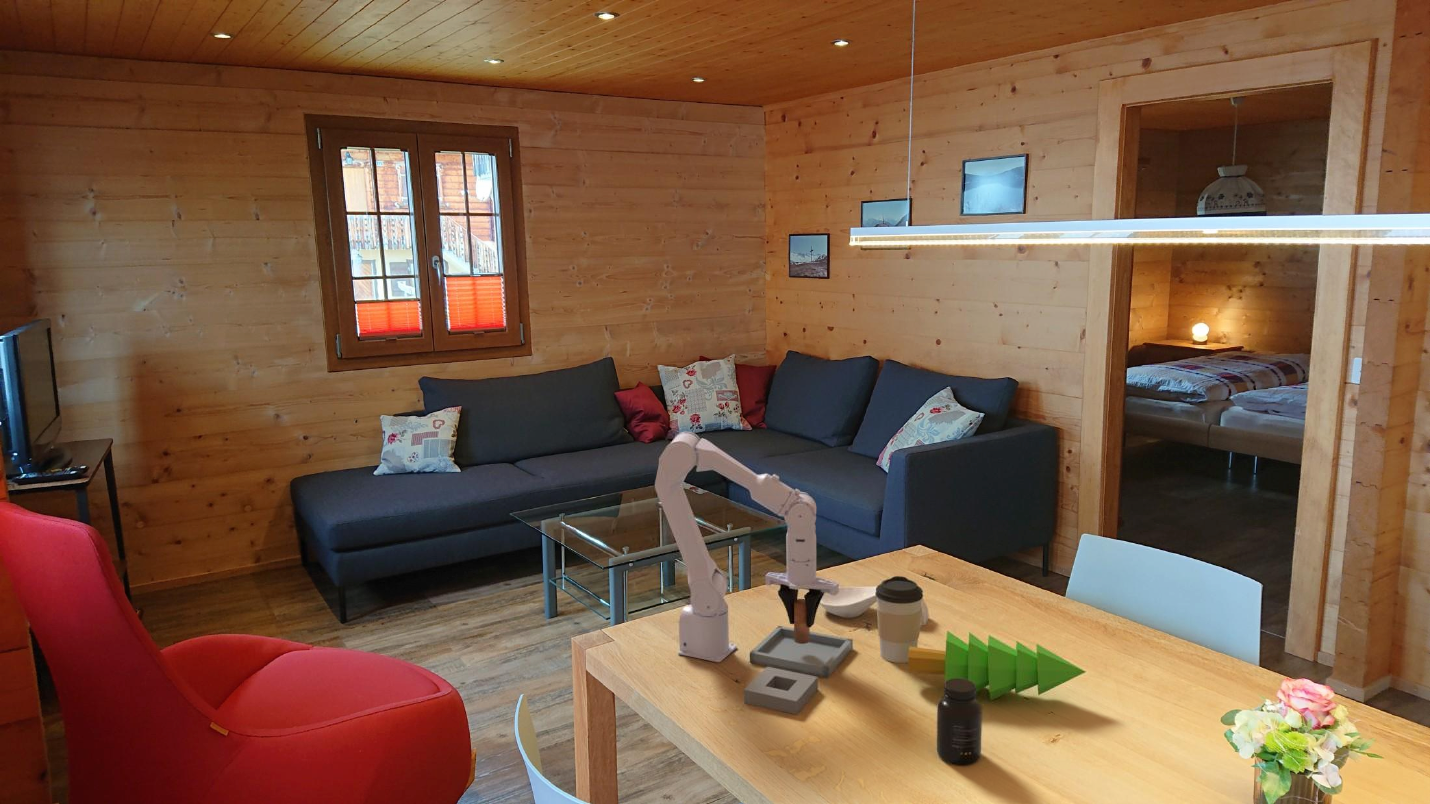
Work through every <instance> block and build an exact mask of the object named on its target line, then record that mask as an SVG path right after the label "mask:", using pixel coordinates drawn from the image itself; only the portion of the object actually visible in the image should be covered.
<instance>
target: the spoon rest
mask: <svg viewBox="0 0 1430 804" xmlns="http://www.w3.org/2000/svg"><path fill="white" fill-rule="evenodd" d="M877 586H878V585H876V586H839V592H838V593H837V594H836V595H835V596H834V595H830V593H824V595H823V597H822V599H821V601H820V603H819V606H821V607H822V609H824V610H825V611H827V612H828V613H830V614H832V615H835V616H837V617H841V618H857V617H858V616H861V615H862V614H863V613H864V612H866V611H867V610H868V609H869V608H871V607H872V605H875V604H876V603H877V596H876V595H875V593H876V587H877ZM921 607H922V611H921V622H920V626H923V627H924V626H926V624H927V622H928V620H929V617H930V615H929V608H928V606H927V603H926V602H925V600H924V598H922V601H921Z"/></svg>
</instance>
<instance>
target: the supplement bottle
mask: <svg viewBox="0 0 1430 804" xmlns="http://www.w3.org/2000/svg"><path fill="white" fill-rule="evenodd" d="M943 687H944V688H943V689H944V690H943V696H941V697H940V698H939V700H938V702H937V709H936V753H937V754H938V757H939V758H940V759H941V760H942V761H944V762H945V763H948V764H950V765H955V766H959V767H961V766H962V767H964V766H965V767H966V766H970V765H973V764H975V763H977V762H978V761H979V760H980V758H981V757H982V756H981V755H982V729H983V726H982V725H983V708H982V705H981V704H982V703H980V701H979V700H978V699H977V692H976V685H975V684H974V683H973V682H971V681H969V680H966V679H961V678H954V679H949V680H947V681H946V682H945V681H944V684H943Z"/></svg>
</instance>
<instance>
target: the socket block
mask: <svg viewBox="0 0 1430 804" xmlns="http://www.w3.org/2000/svg"><path fill="white" fill-rule="evenodd" d="M818 680H819V676H814V675H809V674H804V673H799V672H794V671H790V670H785V669H780V668H775V667H770V666H766V667H765V668H764V669H763V670H762V671H761V672H760V673H759V674H758V675H757V676H756V677H755V678H754V679H753V680H752V681H751V682H750V683H749V684H747V686H746V687H745V688H744V689H743V702H744V704H748V705H753V706H757V707H760V708H764V709H765V708H766V709H769V710H774V711H779V712H782V713H788V714H792V715H795V716H796V715H798V713H800V711H802V710H803V708H804V707H805V705H806V704H807V703H808V702H809V701H810V700H811V698H812V697H813V696H814V695H815V694H816V693H817V691H818V690H819V687H818V686H819V681H818Z"/></svg>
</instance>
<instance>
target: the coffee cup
mask: <svg viewBox="0 0 1430 804" xmlns="http://www.w3.org/2000/svg"><path fill="white" fill-rule="evenodd" d="M876 586H877V587H876V593H875V595H876V596H877V602H876V615H877V618H876V619H877V620H876V621H877V634H878V638H879V650H880V651H879V653H880V657H881V658H882V659H883V660H885V661H888V662H891V663H897V664H905V663H908V654H909V647H918V643H919V639H920V632H921V631H920V629H921V623H920V622H921V611H922V607H921V601H922V598H923V597H924V595H923V593H924V590H923V589H922V587H921V586H919V585H918V583H916V582H915V581H914V580H911V579H909V578H907V577H906V576H900V575H899V576H898V575H897V576H895V575H894V576H893V577H891V578H888V579H885V580H883V581H881V583H880V584H878V585H876ZM923 599H924V598H923Z"/></svg>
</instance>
